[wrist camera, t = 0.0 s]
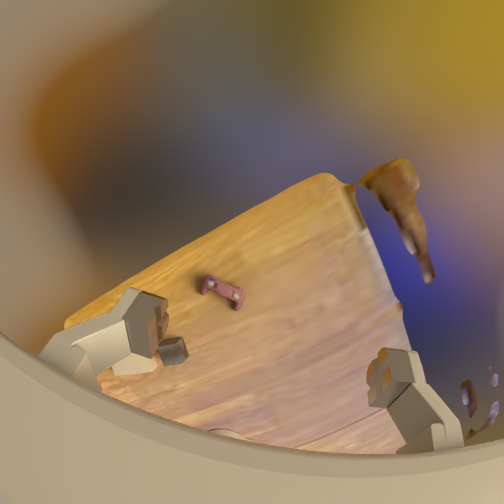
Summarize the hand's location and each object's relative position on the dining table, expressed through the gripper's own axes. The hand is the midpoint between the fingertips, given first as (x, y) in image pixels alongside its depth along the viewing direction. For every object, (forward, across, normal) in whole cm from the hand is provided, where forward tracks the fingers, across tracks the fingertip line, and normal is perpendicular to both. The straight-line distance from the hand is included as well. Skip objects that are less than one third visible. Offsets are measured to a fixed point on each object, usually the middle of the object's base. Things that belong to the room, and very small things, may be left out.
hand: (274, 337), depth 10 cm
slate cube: (+34, -18, -51) cm, 64 cm away
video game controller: (+43, -9, -36) cm, 56 cm away
